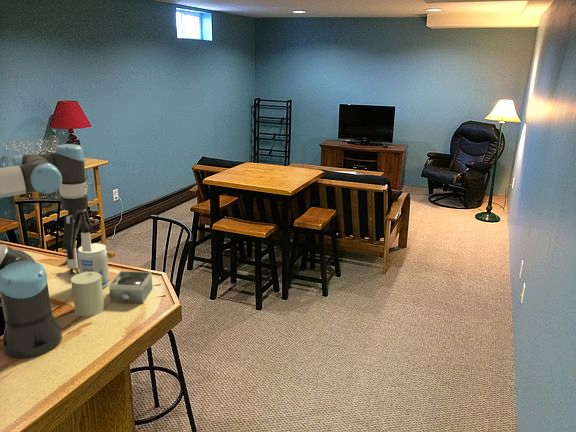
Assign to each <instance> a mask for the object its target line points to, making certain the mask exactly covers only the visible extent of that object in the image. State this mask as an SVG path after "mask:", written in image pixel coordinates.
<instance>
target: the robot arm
mask: <svg viewBox="0 0 576 432" xmlns="http://www.w3.org/2000/svg"><path fill="white" fill-rule="evenodd" d="M85 161H86V160H85V156H84V150H83V147H82V146H81V145H79V144H73V143H70V144H69V143H68V144H67V143H65V144H59V145H57V146H55V150H54V152H50V153H33V154H32V153H31V154H19V155H13V156H11V157H10V161H9V162H10V166H6V167H0V199H2V198H7V197H14V196H19V195H24V194H31V193H41V194H52V193H55V192H56V191H58V190H59V195H60V196H61V197H60V202H61V204H60V205H61V209H63V210H64V211H67V216H63V231H62V232H63V233H62V234H63V235H62V246H61V248H62V250H65V253H66V260H67V264H68V265H67V269H70V268H78V263H77V256H78V255H77V254H78V252H77V247H76V240H77V239H76V238H77V233H78V229H80V231H81V232H80V238H81V246H82V251H83V252H91V251H92V249H91V244H92V241H91V240H92V239H91V233H92V232H93V231H94V230H93V225H92V221H91V218H90V214H89V211H88V206H89V199H88V198H89V197H88V195H87V193H88V190H87V189H88V188H89V185H88V184H87V179H86V166H85V165H86V163H85ZM49 292H50V291H49V285H48V274H47V272H46V269H45V267H44V266H43V265H42V264H41V263H39V262H37V261H35V259H34V257H32V256H31V255H30V254H29V253H27V252H25V251H23V250H20V249H16V248H15V249H14V248H12V247H10V246H8V245H6V244H0V300H1V304H2V305H1V306H2V311H3V316H4V321H5V327H4V330H3V331H4V332H3V337H2V341H1V347H2V352H3V353H4V354H5V355H6V356H7V357H11V358H13V359H25V358H26V359H27V358H34V357H37V356H40V355H43V354H46V353H47V352H50V351H52V350H53V349H54V348H56V347H57V346H59V344H60V343H61V342H62V340H63V334H62V328H61V327H60V326H59V324H58V322H57V320H56V318H55V316H54V315H53V312H52V306H51V297H50V293H49Z"/></svg>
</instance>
